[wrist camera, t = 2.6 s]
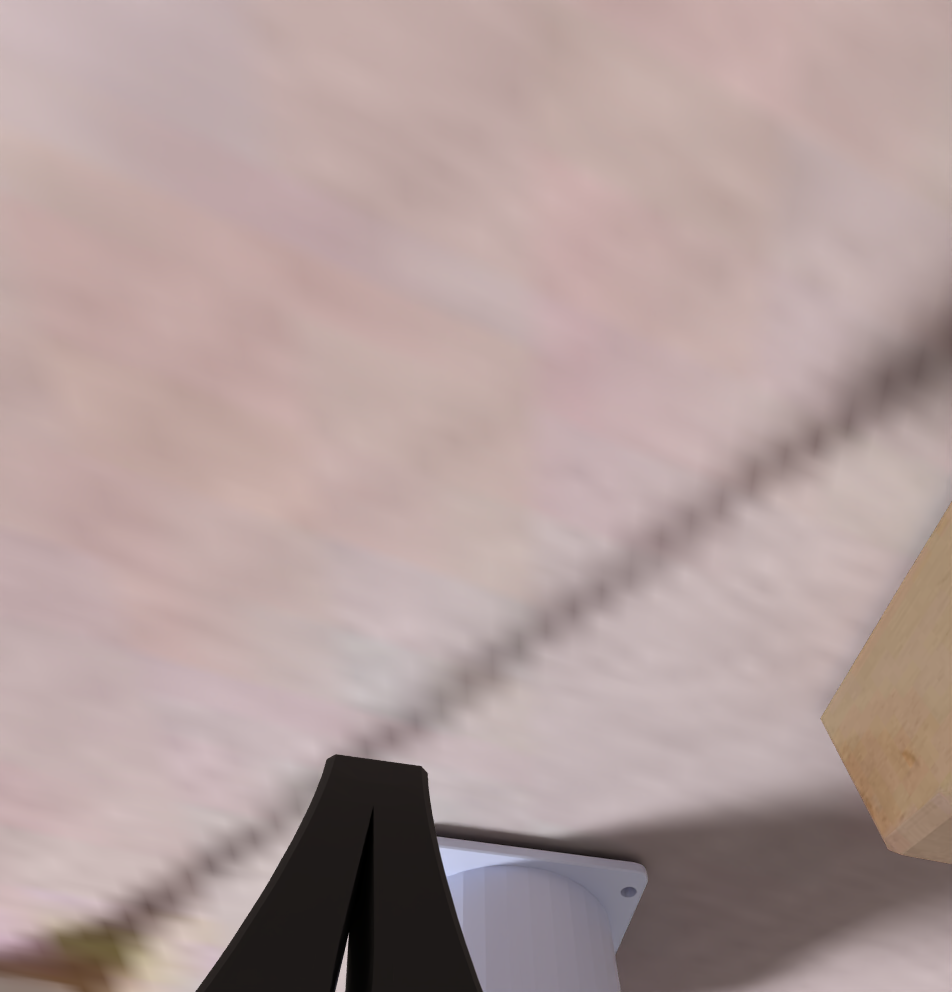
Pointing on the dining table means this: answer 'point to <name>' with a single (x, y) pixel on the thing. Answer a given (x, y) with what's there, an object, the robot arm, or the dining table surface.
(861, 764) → the decorative block
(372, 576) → the dining table surface
